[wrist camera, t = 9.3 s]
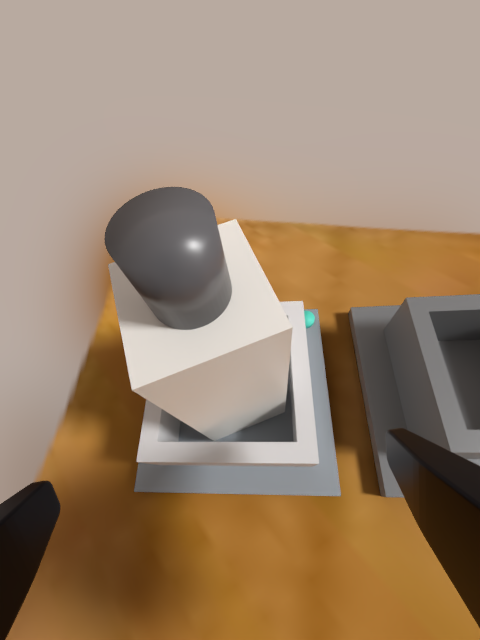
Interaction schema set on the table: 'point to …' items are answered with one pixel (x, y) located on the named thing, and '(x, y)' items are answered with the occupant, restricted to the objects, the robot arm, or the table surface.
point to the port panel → (252, 437)
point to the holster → (420, 374)
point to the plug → (197, 314)
